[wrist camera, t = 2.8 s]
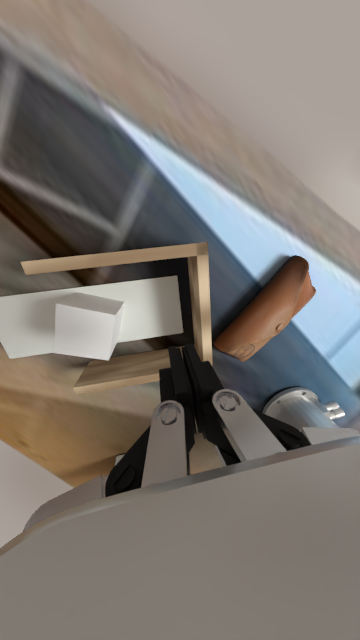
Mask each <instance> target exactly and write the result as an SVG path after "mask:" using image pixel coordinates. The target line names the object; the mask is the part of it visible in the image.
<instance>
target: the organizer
mask: <svg viewBox="0 0 360 640" xmlns="http://www.w3.org/2000/svg"><path fill="white" fill-rule="evenodd" d="M181 257H188V269H189V282H190V294H191V306H192V319H193V331H194V343H195V344H194V346H195V349H196V351H197V353H198V355H199V357H200V360H201V362H203V361H209V362H210V363H211V365H212V340H211V315H210V290H209V264H208V242H204V243H195V244H185V245H176V246H166V247H157V248H147V249H138V250H128V251H119V252H110V253H100V254H91V255H81V256H72V257H62V258H53V259H43V260H34V261H24V262H21V264H22V267H23V269H24V271H25V274H26V275H29V274H38V273H47V272H56V271H65V270H74V269H83V268H92V267H101V266H110V265H119V264H128V263H136V262H145V261H154V260H163V259H172V258H181ZM182 347H185V346H181V347H176V348H180V351H181V354H182ZM182 358H183V354H182ZM170 367H171V366H170V359H169V352H168V349H162V350H156V351H149V352H143V353H137V354H130V355H124V356H118V357H111V358H110V359H109V361H108V360H101V359H99V360H92V361H90V362H89V363H88V365H87V367H86V368H85V370H84V371H83V373H82V375H81V376H80V378H79V379H78V381H77V382H76V384H75V386H74V387H73V389H74V391H75V393H76V395H79V394H85V393H91V392H97V391H103V390H108V389H114V388H120V387H126V386H132V385H137V384H143V383H149V382H155V381H160V379H159V369H164V368H170ZM212 367H213V365H212Z"/></svg>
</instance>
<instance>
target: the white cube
mask: <svg viewBox="0 0 360 640" xmlns="http://www.w3.org/2000/svg"><path fill="white" fill-rule="evenodd" d="M124 303H125V302H123V301H118V300H114V299H109V298H104V297H100V296H95V295H90V294H86V293H81V292H79V293H77V294H75V295H73V296H71V297H69V298H66V299H64V300H62V301H60V302H58V303H56V313H55V344H54V353H58V354H65V355H72V356H80V357H87V358H94V359H101V360H108V361H109V359H110V357H111V354H112V352H113V350H114V348H115V346H116V343H117V341H118V339H119V334H120V327H121V321H122V315H123V309H124Z"/></svg>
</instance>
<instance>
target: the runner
mask: <svg viewBox="0 0 360 640" xmlns="http://www.w3.org/2000/svg"><path fill="white" fill-rule="evenodd" d="M79 292H81V293H86V294H90V295H95V296H100V297H104V298H109V299H114V300H118V301H123V302H125V303H124V309H123V315H122V321H121V327H120V334H119V339H118V341H117V343H119V342H126V341H132V340H139V339H146V338H152V337H159V336H166V335H172V334H179V333H183V325H182V316H181V306H180V297H179V287H178V278H177V276H168V277H160V278H152V279H143V280H135V281H127V282H119V283H110V284H102V285H94V286H86V287H77V288H69V289H61V290H52V291H44V292H36V293H28V294H19V295H11V296H3V297H0V342H1V344H2V346H3V347H4V349H5V351H6V353H7V355H8V357H9V358H10V359H12V358H19V357H26V356H32V355H39V354H46V353H52V352H54V344H55V313H56V303H58V302H60V301H62V300H64V299H66V298H69V297H71V296H73V295H75V294H77V293H79Z"/></svg>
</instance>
